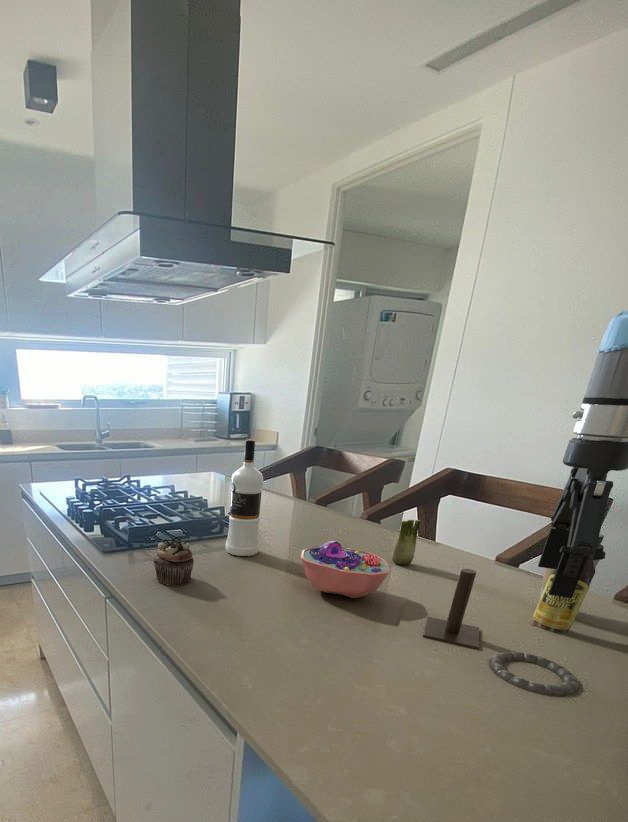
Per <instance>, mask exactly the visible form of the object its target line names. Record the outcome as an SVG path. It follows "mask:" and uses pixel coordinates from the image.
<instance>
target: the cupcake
mask: <svg viewBox="0 0 628 822" xmlns="http://www.w3.org/2000/svg"><path fill="white" fill-rule="evenodd" d="M157 547H158V549H157V550H156V556H155V557H154V558H153V559H152V561H153V566H154V570H155V576H156V581H157V580H158V581H159V582H158V581H157V582H158V583H160V582H161V583H160V584H162V583H164V584H168V585H167V586H169V585H180V586H182V585H181V584H183V585H186V584H185V583H187V582H188V581H189V580H190V581H191V577H192V572H193V568H194V563H195V561H194V558H193V552H192V551H191V549H190V543H188V542H186V541H181V540H180V541H179V538H178V537H174V538H172V539H162V540H161V542H159V543H158V544H157ZM190 581H189V582H190ZM189 582H188V583H189ZM188 583H187V584H188ZM164 584H163V585H164Z"/></svg>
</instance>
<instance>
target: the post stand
mask: <svg viewBox="0 0 628 822" xmlns="http://www.w3.org/2000/svg"><path fill="white" fill-rule="evenodd" d="M476 576H477V571H476V570H474V569H470V568H462V569H460V572H459V575H458V580H457V584H456V587H455V591H454V594H453V597H452V602H451V605H450V609H449V612H448V615H447V620H446V619H441V618H437V617H433V616H432V617H431V616H427V617H426V620H425V625H424V629H423V635H422V638H423V639H429V640H432V641H437V642H441V643H446V644H449V645H454V646H458V647H463V648H468V649H472V650H476V651H479V650H480V627H479V626H475V625H470V624H466V623H463V621H464V618H465V617H464V616H465V613H466V610H467V606H468V604H469V599H470V596H471V594H472V589H473V586H474V582H475V579H476Z"/></svg>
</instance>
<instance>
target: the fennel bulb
mask: <svg viewBox="0 0 628 822" xmlns="http://www.w3.org/2000/svg"><path fill="white" fill-rule="evenodd" d="M421 521H422V520H420V519H407V520H401V522H400V529H399V533H398V538H397V540H396V542H395V545H394V549H393V552H392V557H391V561H392V562H393V563H394V564H396V565H403V566H405V565H406V566H407V565H410V564H411V563H412V562H413V560H414V557H415V550H416V546H417V544H416V543H417V537H418V533H419V528H420V525H421Z"/></svg>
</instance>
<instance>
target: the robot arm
mask: <svg viewBox="0 0 628 822" xmlns="http://www.w3.org/2000/svg"><path fill="white" fill-rule="evenodd" d="M602 337H603V338H602V340H601V343H600V344H599V347H598V348H597V351H596V358H595V360H594V365H593V367H592V371H591V375H590V377H589V380H588V384H587V387H586V390H585V392H584V396H583V399H582V402H581V403H582V404H581V405H580V410H576V411H574V412H573V413H572V419H576V421H575V423H574V427H573V429H572V433H573V434H574V435H576V436H575V437H571V439H570V440H568V443H567V446H566V449H565V452H564V455H563V458H562V463H563V465H565V466H567V467H571V470H570V473H569V476H568V479H567V481H566V484H565V486H564V488H563V491H562V493H561V495H560V497H559V499H558V502H557V504H556V506H555V508H554V510H553V513H552V515H551V516H550V522H551V523H550V529H549V532H548V535H547V537H546V540H545V543H544V547H543V549H542V551H541V555H540V558H539V561H538V564H537V566H538V568H544V569H545V568H550V569H557V570H556V573H555V576H554V579H553V581H552V584H551V587H550V590H549V595H554V596H560V597H566V598H572V597H573V594H574V592H575V589H576V586H577V584H578V581H579V578H580V576H581V573H582V570H583V568H584V565H585V563H586V560H587V557H588V556H589V555H594V554H595V552H596V546H597V542H598V538H599V534H601V529H602V525H603V522H604V521H603V520H604V517H605V514H606V508H607V504H608V501H609V498H610V494H611V491H612V489H613V487H614V481H613V480H607V478H608V474H609V472H611V471H615V472H621V471H626V470H628V309H627V310H623V311H621V312H619V313H617V314H616V315H614V316H613V317H612V318H611V320H610V321H609V323H608V325H607V328H606V330H605V331H604V334H603V336H602ZM567 543H568V544H567ZM582 544H584V545H582ZM566 546H567V547H566Z"/></svg>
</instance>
